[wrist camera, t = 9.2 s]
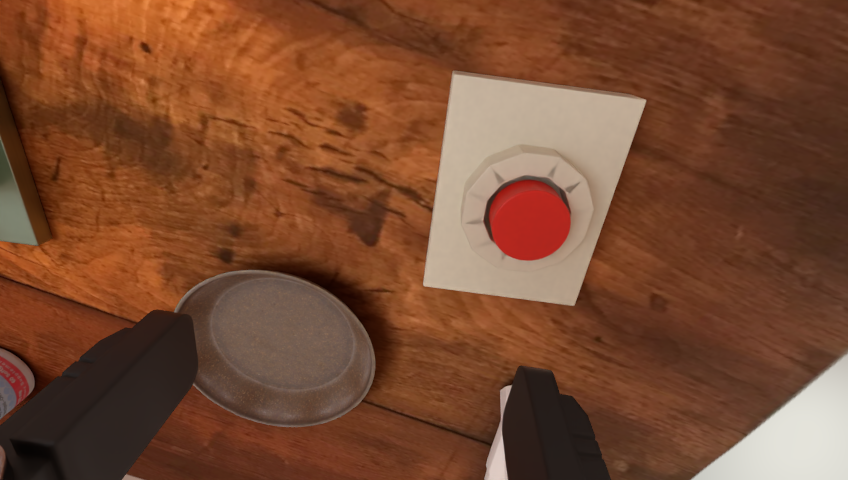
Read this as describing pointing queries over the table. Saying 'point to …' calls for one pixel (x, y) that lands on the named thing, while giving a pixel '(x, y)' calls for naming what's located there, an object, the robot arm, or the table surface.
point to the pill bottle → (13, 381)
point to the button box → (524, 160)
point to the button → (529, 220)
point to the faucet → (498, 447)
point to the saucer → (278, 348)
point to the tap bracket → (18, 187)
